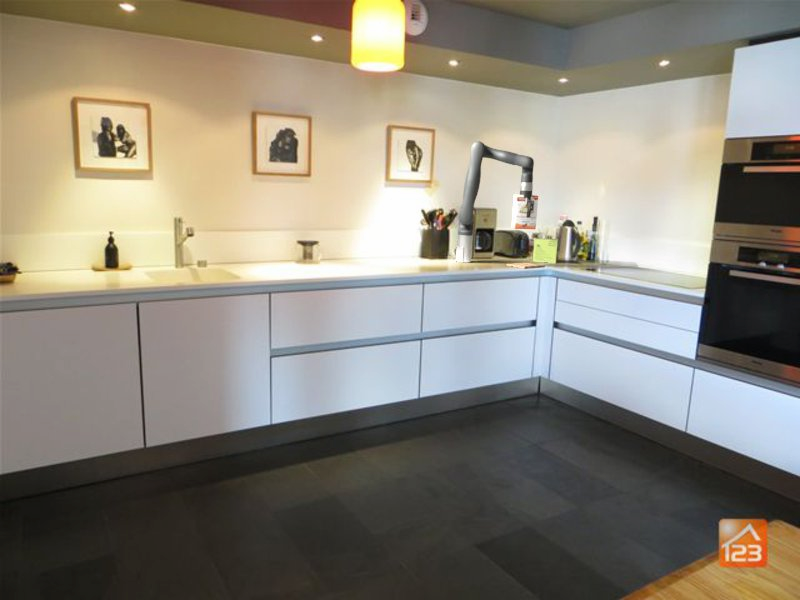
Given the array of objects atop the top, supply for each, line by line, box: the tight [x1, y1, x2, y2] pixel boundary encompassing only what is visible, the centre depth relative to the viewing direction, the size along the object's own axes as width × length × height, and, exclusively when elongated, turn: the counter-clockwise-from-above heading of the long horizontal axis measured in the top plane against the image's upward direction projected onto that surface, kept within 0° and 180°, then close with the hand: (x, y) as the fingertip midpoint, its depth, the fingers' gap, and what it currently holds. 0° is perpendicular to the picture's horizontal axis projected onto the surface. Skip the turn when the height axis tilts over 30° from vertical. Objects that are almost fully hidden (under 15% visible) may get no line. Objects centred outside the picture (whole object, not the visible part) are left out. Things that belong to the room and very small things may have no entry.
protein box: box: [532, 237, 559, 264], centre depth 392 cm, size 10×15×16 cm
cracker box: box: [511, 194, 539, 230], centre depth 359 cm, size 14×6×21 cm, turn 100°
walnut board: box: [505, 262, 545, 269], centre depth 361 cm, size 20×14×1 cm
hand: (524, 217), depth 360 cm, fingers closed on cracker box, 6 cm apart
